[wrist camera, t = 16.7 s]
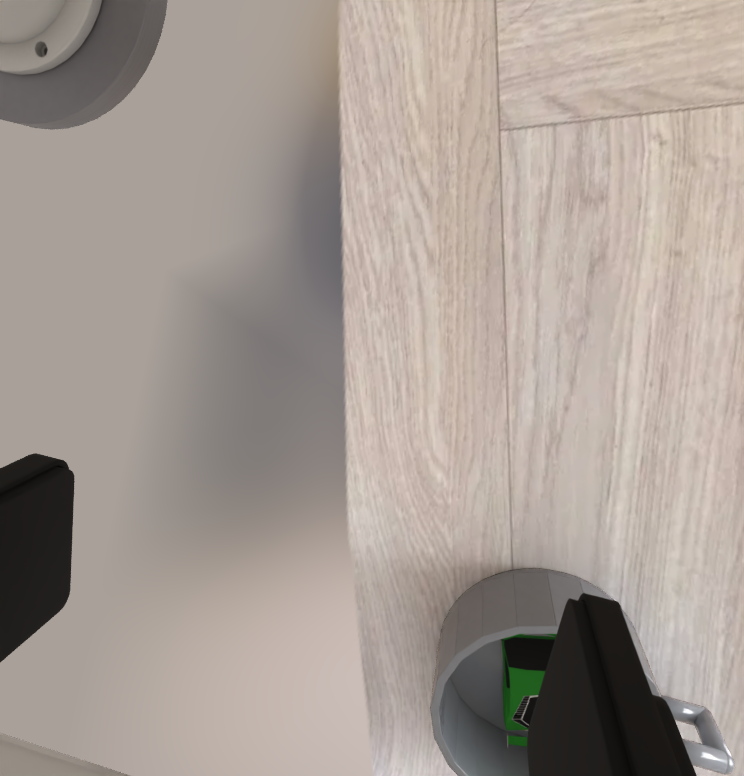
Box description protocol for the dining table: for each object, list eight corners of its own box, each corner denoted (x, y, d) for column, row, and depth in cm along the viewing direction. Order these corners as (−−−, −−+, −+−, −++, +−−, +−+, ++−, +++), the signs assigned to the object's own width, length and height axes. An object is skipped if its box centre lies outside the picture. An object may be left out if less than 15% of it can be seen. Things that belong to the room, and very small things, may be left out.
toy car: (498, 590, 38) (498, 611, 36) (574, 593, 37) (580, 615, 35) (502, 721, 40) (503, 748, 38) (574, 726, 39) (579, 755, 37)
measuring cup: (422, 707, 42) (412, 780, 36) (461, 546, 38) (456, 599, 33) (672, 779, 40) (703, 870, 34) (737, 615, 36) (784, 686, 30)
